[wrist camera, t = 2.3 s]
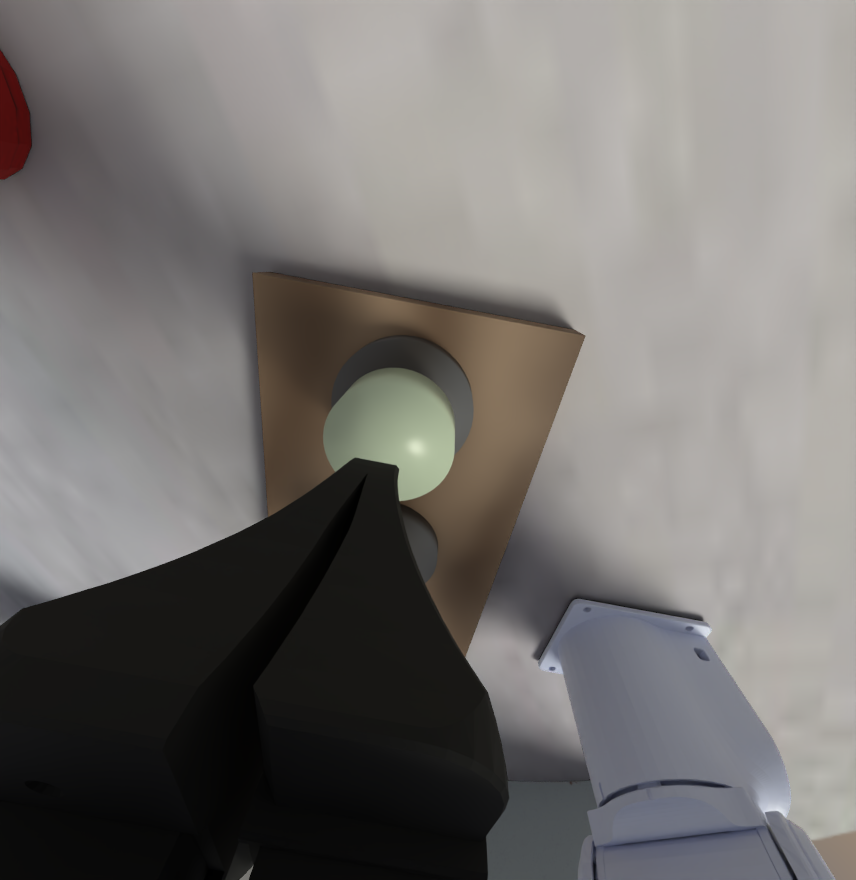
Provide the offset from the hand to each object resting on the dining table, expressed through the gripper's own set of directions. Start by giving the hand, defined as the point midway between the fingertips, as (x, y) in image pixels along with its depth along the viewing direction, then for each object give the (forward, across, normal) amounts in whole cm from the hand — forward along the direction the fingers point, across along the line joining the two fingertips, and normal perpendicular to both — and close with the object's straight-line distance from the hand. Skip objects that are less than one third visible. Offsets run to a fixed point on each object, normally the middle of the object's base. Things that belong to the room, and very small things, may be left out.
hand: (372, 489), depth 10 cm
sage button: (+5, 0, 0) cm, 5 cm away
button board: (+8, 0, +9) cm, 12 cm away
